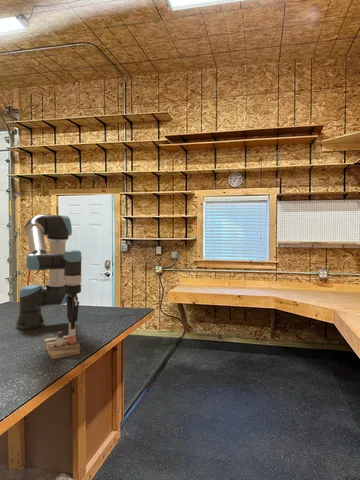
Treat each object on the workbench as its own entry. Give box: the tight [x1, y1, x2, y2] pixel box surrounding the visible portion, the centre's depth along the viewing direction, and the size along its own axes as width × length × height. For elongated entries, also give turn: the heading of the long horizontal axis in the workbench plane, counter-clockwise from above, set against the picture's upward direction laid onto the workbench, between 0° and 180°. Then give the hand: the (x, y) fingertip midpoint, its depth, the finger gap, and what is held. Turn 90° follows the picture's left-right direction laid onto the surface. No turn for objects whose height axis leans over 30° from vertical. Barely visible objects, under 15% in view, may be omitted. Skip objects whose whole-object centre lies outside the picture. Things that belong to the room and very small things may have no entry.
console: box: [43, 334, 81, 360], centre depth 147 cm, size 16×12×4 cm
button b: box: [55, 338, 64, 347], centre depth 143 cm, size 4×4×3 cm
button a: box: [68, 335, 77, 345], centre depth 146 cm, size 4×4×3 cm
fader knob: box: [56, 330, 64, 338], centre depth 150 cm, size 3×2×3 cm
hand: (72, 335), depth 145 cm, fingers closed
